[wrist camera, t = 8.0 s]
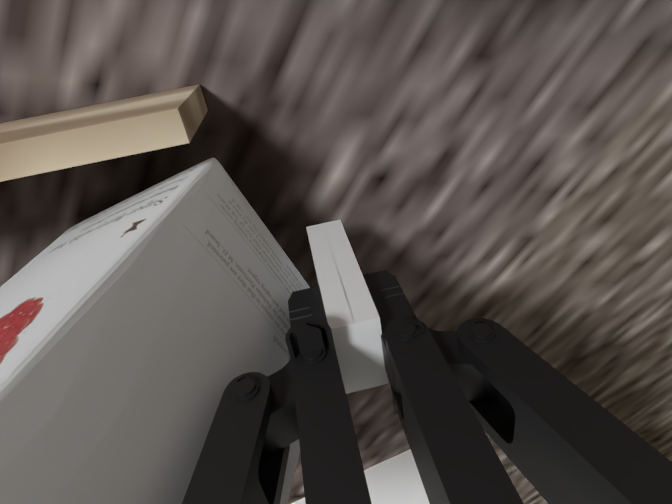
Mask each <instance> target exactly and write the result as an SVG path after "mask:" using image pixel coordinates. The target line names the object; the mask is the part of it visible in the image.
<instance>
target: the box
mask: <svg viewBox="0 0 672 504" xmlns="http://www.w3.org/2000/svg"><path fill="white" fill-rule="evenodd" d="M207 111H208V109H207V106H206V103H205V100H204V97H203V93H202V90H201V87H200V84H199V85H194V86H189V87H184V88H178V89H173V90H168V91H163V92H158V93H153V94H148V95H143V96H138V97H133V98H128V99H123V100H118V101H112V102H107V103H102V104H97V105H92V106H87V107H82V108H77V109H72V110H67V111H62V112H57V113H52V114H46V115H41V116H36V117H31V118H26V119H21V120H16V121H11V122H6V123H1V124H0V182H2V181H7V180H11V179H16V178H21V177H26V176H31V175H36V174H41V173H46V172H51V171H55V170H60V169H65V168H70V167H75V166H80V165H85V164H90V163H95V162H99V161H104V160H109V159H114V158H119V157H124V156H129V155H134V154H139V153H143V152H148V151H153V150H158V149H163V148H168V147H173V146H178V145H183V144H187V143H190V142H191V140H192V138H193V136H194V134H195V133H196V131H197V129H198V127H199V126H200V124H201V122H202V120H203V118H204V117H205V115H206V113H207Z"/></svg>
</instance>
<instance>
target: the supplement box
mask: <svg viewBox="0 0 672 504" xmlns="http://www.w3.org/2000/svg"><path fill="white" fill-rule="evenodd" d="M307 288H310V287H309V285H308V284H307V283H306V281H305V280H304V278H303V277H302V276H301V274H300V273H299V272H298V270H297V269H296V267H295V266H294V265H293V263H292V262H291V260H290V259H289V258H288V256H287V255H286V254H285V252H284V251H283V249H282V248H281V247H280V245H279V244H278V243H277V241H276V240H275V239H274V237H273V236H272V234H271V233H270V231H269V230H268V229H267V227H266V226H265V224H264V223H263V222H262V220H261V219H260V218H259V216H258V215H257V214H256V212H255V211H254V209H253V208H252V207H251V205H250V204H249V203H248V201H247V200H246V198H245V197H244V196H243V194H242V193H241V192H240V190H239V189H238V188H237V186H236V185H235V183H234V182H233V181H232V179H231V178H230V177H229V175H228V174H227V172H226V171H225V170H224V168H223V167H222V165H221V164H220V163H219V161H218V160H217V159H215V158H209V159H207V160H205V161H203V162H201V163H199V164H197V165H195V166H192V167H190V168H188V169H186V170H184V171H182V172H180V173H178V174H176V175H174V176H172V177H170V178H168V179H166V180H164V181H162V182H160V183H158V184H156V185H154V186H152V187H150V188H148V189H146V190H144V191H142V192H140V193H138V194H136V195H134V196H132V197H130V198H128V199H126V200H124V201H122V202H120V203H118V204H116V205H114V206H112V207H110V208H108V209H106V210H104V211H102V212H100V213H98V214H96V215H94V216H92V217H90V218H88V219H86V220H84V221H82V222H80V223H78V224H76V225H74V226H72V227H71V228H69V229H68V230H66V231H65V232H64V233H63V234H62V235H61V236H60V237H59V238H57V239H56V240H55V241H54V242H53V243H52V244H50V245H49V246H48V247H47V248H46V249H44V250H43V251H42V252H41V253H40V254H38V255H37V256H36V257H35V258H34V259H33V260H31V261H30V262H29V263H28V264H27V265H26V266H24V267H23V268H22V269H21V270H20V271H19V272H17V273H16V274H15V275H14V276H13V277H12V278H10V279H9V280H8V281H7V282H6V283H4V284H3V285H2V286H1V287H0V504H182V502H183V499H184V497H185V494H186V491H187V489H188V486H189V483H190V480H191V478H192V475H193V472H194V470H195V467H196V464H197V462H198V459H199V456H200V454H201V451H202V448H203V446H204V443H205V440H206V437H207V435H208V432H209V429H210V427H211V424H212V421H213V419H214V416H215V413H216V411H217V408H218V405H219V403H220V400H221V397H222V395H223V392H224V390H225V388H226V387H227V385H228V384H229V383H230V382H231V381H232V380H233V379H234V378H236V377H238V376H240V375H242V374H244V373H249V372H259V373H262V374H264V375H265V376H269V375H271V374H273V373H275V372H277V371H278V370H280V369H282V368H283V367H284V366H285V365H286V364H287V363H288V362H289V360H290V359H291V358H290V354H289V351H288V348H287V344H286V341H285V338H286V333H287V332H288V330H289V329H290V318H289V309H288V300H289V298H290V296H291V294H292V292H294V291H298V290H303V289H307ZM299 454H300V443H299V439H298V440H296V441H295V442H293V443H291V444H290V450H289V456H288V461H287V467H286V472H285V478H284V484H283V489H282V495H281V500H280V504H287V500H288V496H289V492H290V488H291V485H292V481H293V477H294V474H295V470H296V466H297V462H298V458H299Z"/></svg>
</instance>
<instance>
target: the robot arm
mask: <svg viewBox="0 0 672 504" xmlns="http://www.w3.org/2000/svg"><path fill="white" fill-rule="evenodd" d="M306 229H307V234H308V238H309V243H310V248H311V252H312V257H313V262H314V266H315V271H316V275H317V280H318V285H319V286H316V287H312V288H307V289H303V290H298V291H294V292H292V294H291V296H290V298H289V300H288V309H289V318H290V329H289V330H288V332H287V333H286V338H285V341H286V344H287V348H288V351H289V354H290V358H291V359H290V360H289V362H288V363H287V364H286V365H285V366H284V367H283V368H282V369H280V370H278V371H277V372H275V373H273V374H271V375H269V376H265V375H264V374H262V373H259V372H249V373H244V374H242V375H240V376H238V377H236V378H234V379H233V380H232V381H231V382H230V383H229V384H228V385H227V387H226V388H225V390H224V392H223V395H222V397H221V400H220V403H219V405H218V408H217V411H216V413H215V416H214V419H213V421H212V424H211V427H210V429H209V432H208V435H207V437H206V440H205V443H204V446H203V448H202V451H201V454H200V456H199V459H198V462H197V464H196V467H195V470H194V472H193V475H192V478H191V480H190V483H189V486H188V489H187V491H186V494H185V497H184V499H183V502H182V504H280V500H281V495H282V489H283V484H284V478H285V472H286V467H287V461H288V456H289V450H290V444H291V443H293V442H295V441H296V440H298V439H299V443H300V453H301V463H302V473H303V483H304V493H305V503H306V504H372V503H371V499H370V494H369V490H368V486H367V482H366V477H365V473H364V469H363V465H362V460H361V456H360V452H359V448H358V443H357V439H356V435H355V431H354V426H353V422H352V418H351V414H350V409H349V405H348V401H347V397H346V394H348V393H352V392H356V391H360V390H364V389H368V388H372V387H377V386H381V385H385V384H388V379H389V381H390V384H391V389H392V397H393V405H394V413H395V414H396V413H398V415H399V417H400V420H401V423H402V426H403V429H404V432H405V435H406V437H407V440H408V443H409V446H410V449H411V452H412V455H413V457H414V460H415V463H416V466H417V469H418V472H419V474H420V477H421V480H422V483H423V486H424V489H425V492H426V494H427V497H428V500H429V503H430V504H523V502H522V500H521V498H520V496H519V494H518V493H517V491H516V489H515V487H514V485H513V483H512V482H511V480H510V478H509V476H508V474H507V472H506V471H505V469H504V467H503V465H502V463H501V461H500V459H499V458H498V456H497V454H496V452H495V450H494V448H493V447H492V445H491V443H490V441H489V439H488V437H487V435H486V434H485V432H484V430H485V431H486V433H487V434H488V435H489V436H490V437H491V438H492V439H493V441H494V442H495V443H496V444H497V445H498V446H499V447H500V449H501V450H502V451H503V452H504V453H505V454H506V455H507V457H508V458H509V459H510V460H511V461H512V462H513V463H514V465H515V466H516V467H517V468H518V469H519V470H520V471H521V473H522V474H523V475H524V476H525V477H526V478H527V479H528V481H529V482H530V483H531V484H532V485H533V486H534V487H535V489H536V490H537V491H538V492H539V493H540V494H541V495H542V497H543V498H544V499H545V500H546V501H547V502H548V503H549V504H672V462H671V461H669V460H668V459H667V458H666V457H664V456H663V455H662V454H661V453H659V452H658V451H657V450H656V449H654V448H653V447H652V446H651V445H649V444H648V443H647V442H646V441H644V440H643V439H642V438H641V437H639V436H638V435H637V434H636V433H634V432H633V431H632V430H631V429H629V428H628V427H627V426H626V425H624V424H623V423H622V422H621V421H619V420H618V419H617V418H616V417H614V416H613V415H612V414H611V413H609V412H608V411H607V410H606V409H604V408H603V407H602V406H601V405H599V404H598V403H597V402H596V401H594V400H593V399H592V398H591V397H589V396H588V395H587V394H586V393H584V392H583V391H582V390H581V389H579V388H578V387H577V386H576V385H574V384H573V383H572V382H571V381H569V380H568V379H567V378H566V377H564V376H563V375H562V374H561V373H559V372H558V371H557V370H556V369H555V368H553V367H552V366H551V365H550V364H548V363H547V362H546V361H545V360H543V359H542V358H541V357H540V356H538V355H537V354H536V353H535V352H533V351H532V350H531V349H530V348H528V347H527V346H526V345H525V344H523V343H522V342H521V341H520V340H518V339H517V338H516V337H515V336H513V335H512V334H511V333H510V332H508V331H507V330H506V329H505V328H503V327H502V326H501V325H499V324H498V323H496V322H494V321H492V320H488V319H484V318H474V319H470V320H467V321H465V322H464V323H462V324H461V325H460V326H459V328H458V330H457V332H444V331H436V330H432V329H429V328H428V327H427V326H426V325H425V324H424V323H423V322H421V321H419V320H418V319H417V318H416V316H415V314H414V312H413V310H412V308H411V306H410V304H409V302H408V300H407V299H406V297H405V295H404V294H403V291H402V289H401V287H400V285H399V283H398V281H397V279H396V278H395V276H393V275H392V274H391V273H389V272H388V271H386V270H384V271H379V272H375V273H370V274H366V275H362V272H361V270H360V267H359V265H358V262H357V260H356V257H355V255H354V253H353V250H352V248H351V245H350V243H349V240H348V238H347V235H346V233H345V230H344V228H343V225H342V223H341V220H336V221H331V222H326V223H322V224H317V225H312V226H308V227H306ZM387 376H388V377H387ZM483 429H484V430H483Z"/></svg>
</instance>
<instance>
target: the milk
mask: <svg viewBox="0 0 672 504" xmlns="http://www.w3.org/2000/svg"><path fill="white" fill-rule="evenodd" d="M364 473H365V477H366V482H367V486H368V490H369V494H370V499H371V503H372V504H430V503H429V500H428V497H427V494H426V492H425V489H424V486H423V483H422V480H421V477H420V474H419V472H418V469H417V466H416V463H415V460H414V457H413V455H412V452H411V449H409V450H407V451H405V452H403V453H401V454H399V455H396V456H394V457H392V458H390V459H388V460H385V461H383V462H381V463H379V464H377V465H374V466H372V467H370V468H368V469H366V470H364ZM291 504H306V503H305V497H304V498H302V499H300V500H298V501H296V502H294V503H291Z"/></svg>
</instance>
